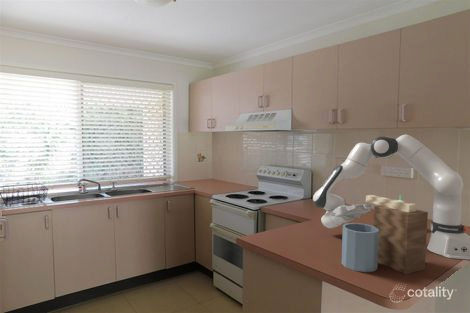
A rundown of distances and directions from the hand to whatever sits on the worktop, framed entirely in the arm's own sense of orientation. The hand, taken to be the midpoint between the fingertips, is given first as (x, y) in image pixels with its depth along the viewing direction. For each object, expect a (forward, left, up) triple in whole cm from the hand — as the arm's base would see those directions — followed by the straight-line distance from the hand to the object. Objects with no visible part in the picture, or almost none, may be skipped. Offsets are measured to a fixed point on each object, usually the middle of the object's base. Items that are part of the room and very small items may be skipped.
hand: (362, 205), depth 149 cm
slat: (-10, +10, +3) cm, 15 cm away
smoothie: (-23, -47, -22) cm, 56 cm away
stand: (-14, +14, -21) cm, 29 cm away
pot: (+2, +21, -21) cm, 30 cm away
